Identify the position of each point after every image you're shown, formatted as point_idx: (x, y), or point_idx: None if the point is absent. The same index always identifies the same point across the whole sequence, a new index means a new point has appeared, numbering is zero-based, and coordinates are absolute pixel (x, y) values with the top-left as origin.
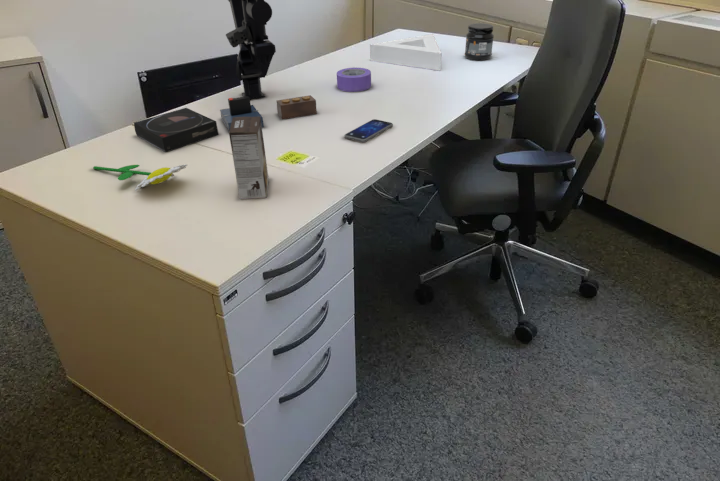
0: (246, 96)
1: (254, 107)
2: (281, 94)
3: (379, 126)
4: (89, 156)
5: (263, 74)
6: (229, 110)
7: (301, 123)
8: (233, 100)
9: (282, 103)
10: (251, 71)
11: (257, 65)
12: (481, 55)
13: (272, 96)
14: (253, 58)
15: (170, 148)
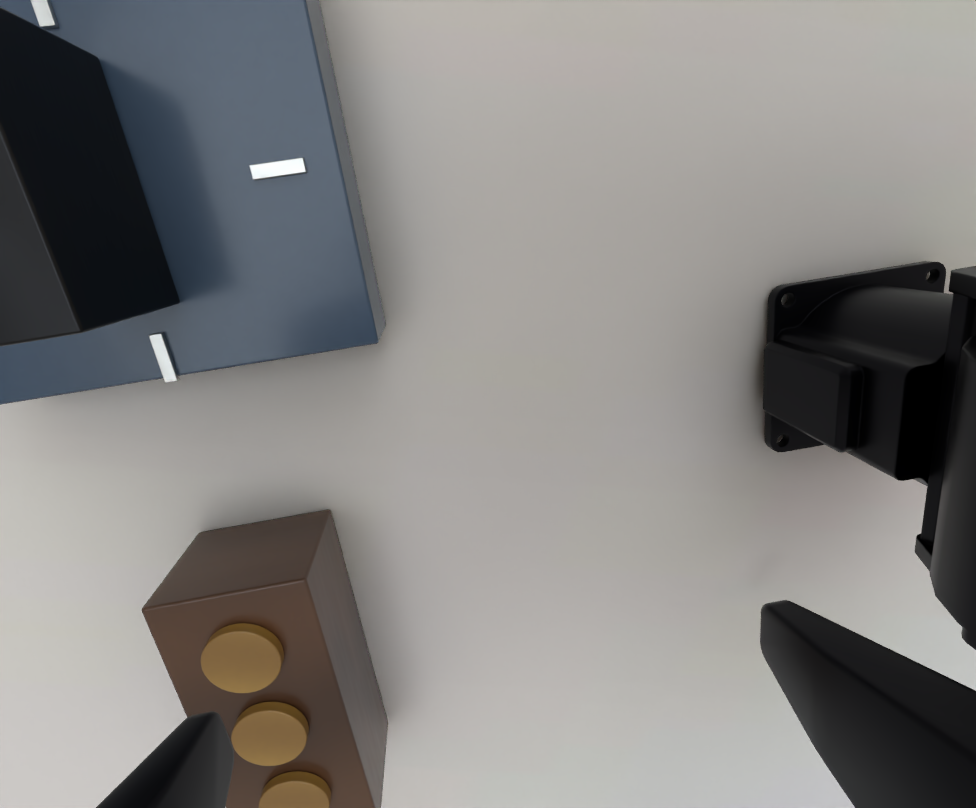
0: (52, 305)
1: (285, 353)
2: (773, 563)
3: None
4: None
5: (172, 748)
6: (236, 60)
7: (97, 648)
8: None
9: (198, 625)
10: (958, 467)
11: (783, 669)
12: None
13: (760, 500)
14: (924, 751)
15: None
